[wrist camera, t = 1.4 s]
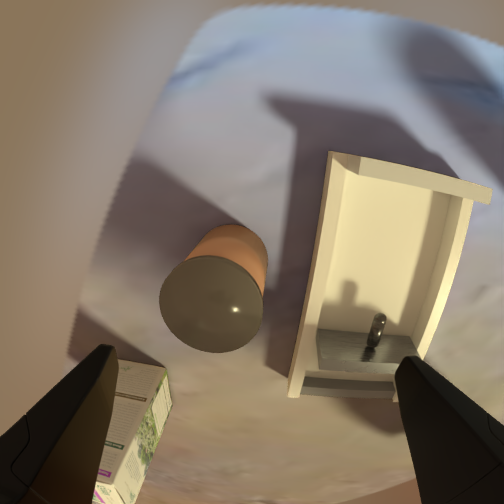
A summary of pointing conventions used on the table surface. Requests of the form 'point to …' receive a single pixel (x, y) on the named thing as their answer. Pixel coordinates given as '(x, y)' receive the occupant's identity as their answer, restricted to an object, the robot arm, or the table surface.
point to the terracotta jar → (217, 291)
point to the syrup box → (132, 431)
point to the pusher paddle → (363, 349)
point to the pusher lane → (379, 263)
